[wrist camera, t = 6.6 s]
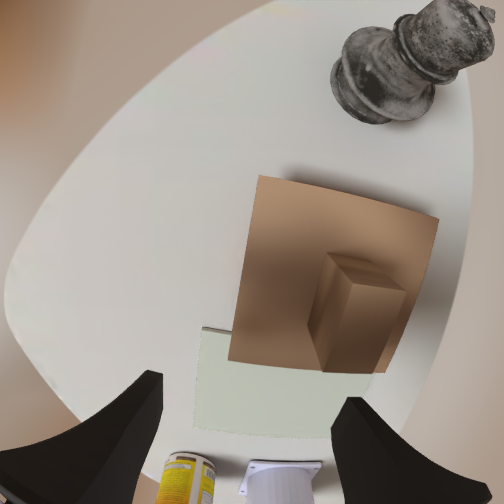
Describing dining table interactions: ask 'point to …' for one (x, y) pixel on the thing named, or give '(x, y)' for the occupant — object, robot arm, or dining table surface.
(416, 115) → the salt shaker
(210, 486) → the supplement bottle
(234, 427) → the sage rubber mat
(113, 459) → the robot arm
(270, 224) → the walnut lid
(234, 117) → the dining table surface
